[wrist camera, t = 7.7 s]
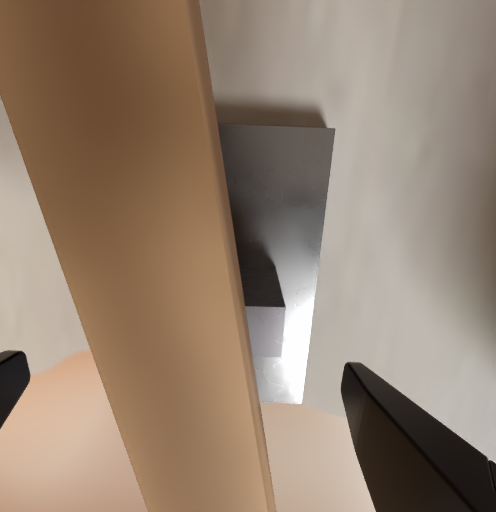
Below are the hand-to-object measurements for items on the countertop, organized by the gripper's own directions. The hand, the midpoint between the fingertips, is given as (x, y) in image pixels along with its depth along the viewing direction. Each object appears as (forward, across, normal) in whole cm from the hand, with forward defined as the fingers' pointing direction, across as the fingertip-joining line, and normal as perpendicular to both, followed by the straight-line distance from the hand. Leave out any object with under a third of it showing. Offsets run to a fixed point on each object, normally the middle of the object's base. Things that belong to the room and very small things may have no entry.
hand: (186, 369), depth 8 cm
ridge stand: (+7, 0, 0) cm, 7 cm away
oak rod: (+2, 0, 0) cm, 2 cm away
